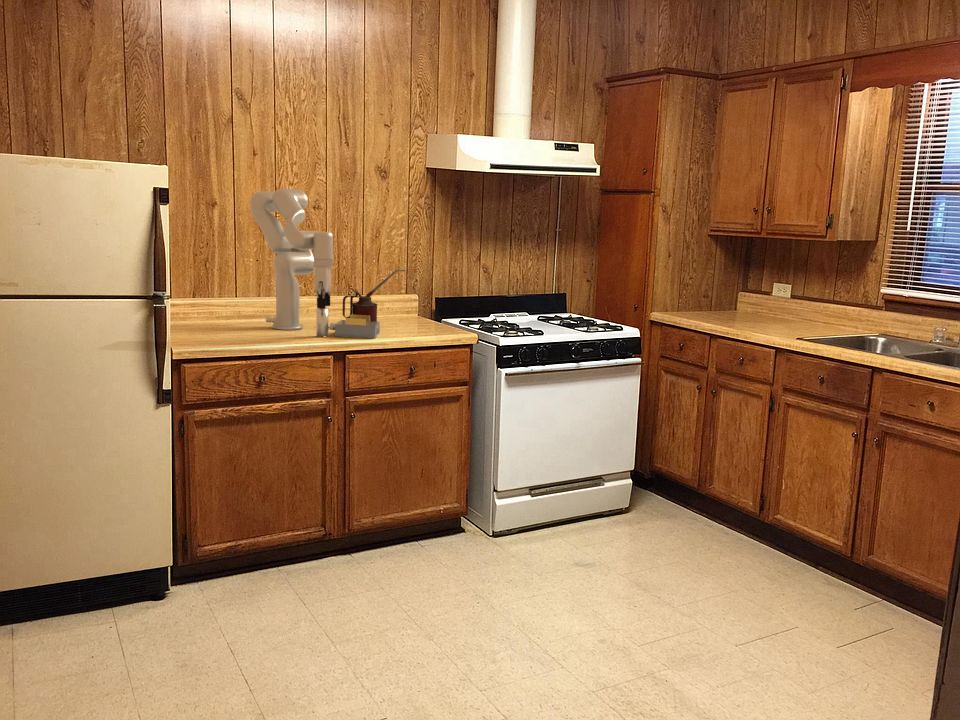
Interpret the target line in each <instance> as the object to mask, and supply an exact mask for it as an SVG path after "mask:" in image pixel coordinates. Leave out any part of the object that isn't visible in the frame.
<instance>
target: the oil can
mask: <svg viewBox="0 0 960 720" xmlns="http://www.w3.org/2000/svg"><path fill="white" fill-rule="evenodd" d="M397 272H406V270H405V269H396V270H394V271H393V272H392V273H390V274H389V276H387V277H386V278H385V279H384V280H383V281H381V282H380V283H379V284H377V285H376V287H374V288H373V289H372V290H371V291H369V292H368V293H367V294H365V295H361V293H360V292H359V290H358V289H354V288H353V287H349V288H350V290H351V291H352V292H355V295H345V296H343V299H342V316H343V317H344V318H345V319H346V318H350V315H370V321H374V322H378V305H379V304H378V303H375V302H373V301H372V296H373V294H374V293H375V292H377V290H378V289H379V288H381V286H383V285H384V284H385V283H386V282H387V281H389V279H390V278H391V277H393V275H394V274H396V273H397ZM347 298H350V302H349V304H350V305H349V306H350V307H349V310H350V311H349V312H350V313H349V316H346V315H345V314H346V299H347ZM354 298H358V301H356V302H353V300H354Z"/></svg>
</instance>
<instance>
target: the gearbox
mask: <svg viewBox="0 0 960 720" xmlns="http://www.w3.org/2000/svg"><path fill="white" fill-rule="evenodd" d="M349 316H350V318H345V319H340V320H339V321H337V322H336V323H332V322H331V323H330V325H329V330H330V331H334V337H335V336H349V337H348V338H352V337H366V338H365V339H373V338H375V339H376V338H377V337H378V336H379V335H380V334H379V333H381V332H380V329H381V328H380V326H381V325H380V324H381V321H377V322H374V321H370V315H353V314H352V315H350V314H349ZM378 334H379V335H378ZM377 335H378V336H377ZM376 336H377V337H376Z"/></svg>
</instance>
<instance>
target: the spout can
mask: <svg viewBox="0 0 960 720" xmlns="http://www.w3.org/2000/svg"><path fill="white" fill-rule="evenodd" d="M317 336H328V337H329V308H328V307H327V306H325V308H317V307H316V337H317Z"/></svg>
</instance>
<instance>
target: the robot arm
mask: <svg viewBox="0 0 960 720" xmlns="http://www.w3.org/2000/svg"><path fill="white" fill-rule="evenodd" d="M308 199H309V198H308V196H307V194H306V193H305V192H304V191H303V190H301V189H294V188H280V189H277V190H275V191H273V190H271V191H268V190H262V191H261V190H260V191H257V192H255V193H253V194H252V196H250V201H249V208H250V212H251V215H252V217H253V219H254V221H255V222H256V224H257V225H258V227H259V228H260V230H261V232H262V234H263V237H264V239H265V241H266V243H267V246H268V247H269V248H268V249H270V251H271V253H273V254H276V255H275V256H274V258H273V269H274V275H275V316H274V317H265V322H266V323H273V324H272V325H271V327H272V329H275V330H281V331H282V330H284V331H295V330H302V329H303V328H304V325H303V324H301V323H300V307H301V306H300V303H301V302H300V300H301V299H300V293H301V292H300V288H301V287H300V283H299V281H298V279H297V277H296V276H302V275H303V276H304V275H310V274H313V273H314V287H313V288H314V293H316V309H317V308H325V306H326V307H330V306H331V290H332V268H334V235H333V233H332V232H330V231H321V230H299V229H298V228H297V227H298V226H299V225H301V224H302V223H303V222H304V221H305V218H306V216H307V215H306V212H305V209H306V208H307V207H308V201H309V200H308ZM272 213H280V214H281V216H282V217H283V220H285V222H284V226H282V225H283V224H282V222H281V221H280V220H279V219H278V218H277V217H276V216H275V215H273V214H272Z"/></svg>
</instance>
